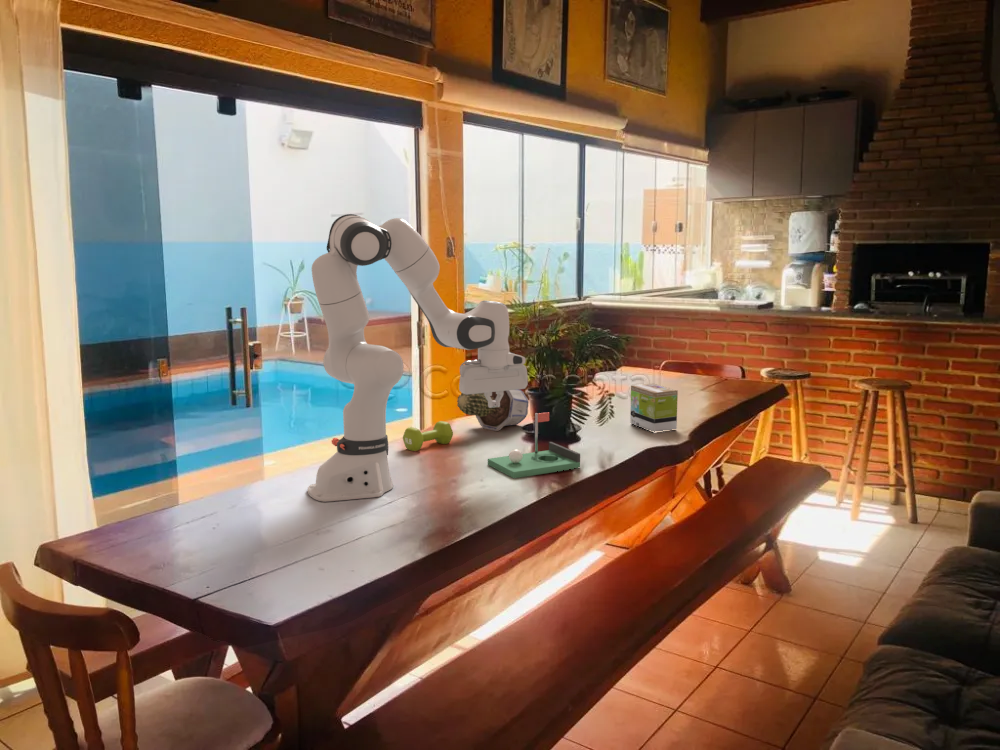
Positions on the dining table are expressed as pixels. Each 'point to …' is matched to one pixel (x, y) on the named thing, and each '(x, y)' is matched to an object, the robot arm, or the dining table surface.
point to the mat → (538, 462)
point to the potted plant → (495, 409)
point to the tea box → (654, 407)
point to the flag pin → (538, 418)
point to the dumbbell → (427, 436)
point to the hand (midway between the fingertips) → (493, 407)
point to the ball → (515, 456)
